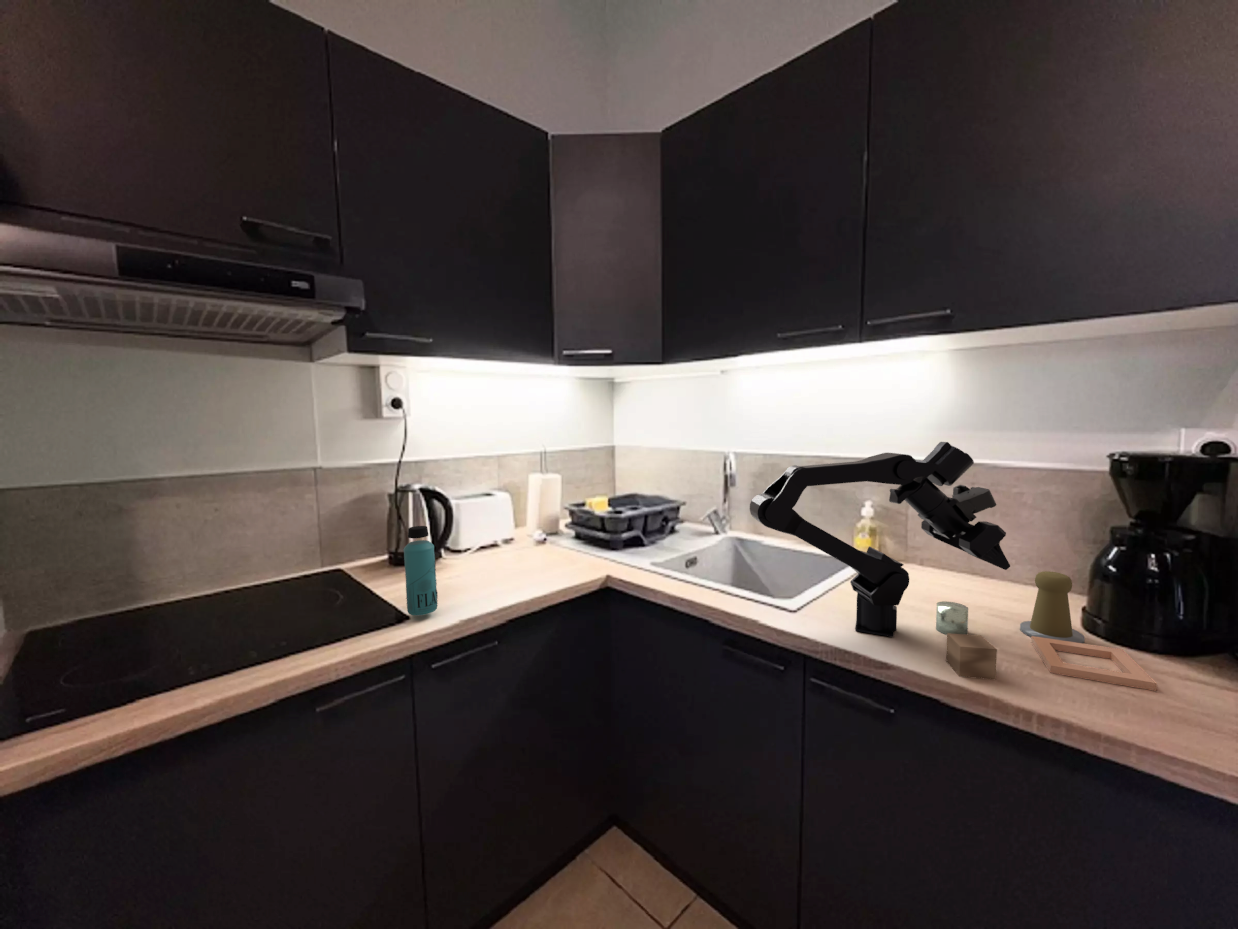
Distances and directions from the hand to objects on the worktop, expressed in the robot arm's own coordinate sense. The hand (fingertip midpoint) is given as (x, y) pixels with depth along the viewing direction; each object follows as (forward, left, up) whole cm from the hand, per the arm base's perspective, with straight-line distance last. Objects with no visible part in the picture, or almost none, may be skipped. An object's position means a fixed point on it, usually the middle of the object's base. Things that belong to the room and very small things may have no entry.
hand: (991, 560), depth 92 cm
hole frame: (+12, -9, -14) cm, 20 cm away
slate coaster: (+10, +2, -14) cm, 17 cm away
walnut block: (-5, -20, -14) cm, 24 cm away
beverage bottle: (-106, -44, -14) cm, 116 cm away
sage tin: (-6, -4, -14) cm, 15 cm away
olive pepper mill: (+10, +2, -13) cm, 16 cm away
